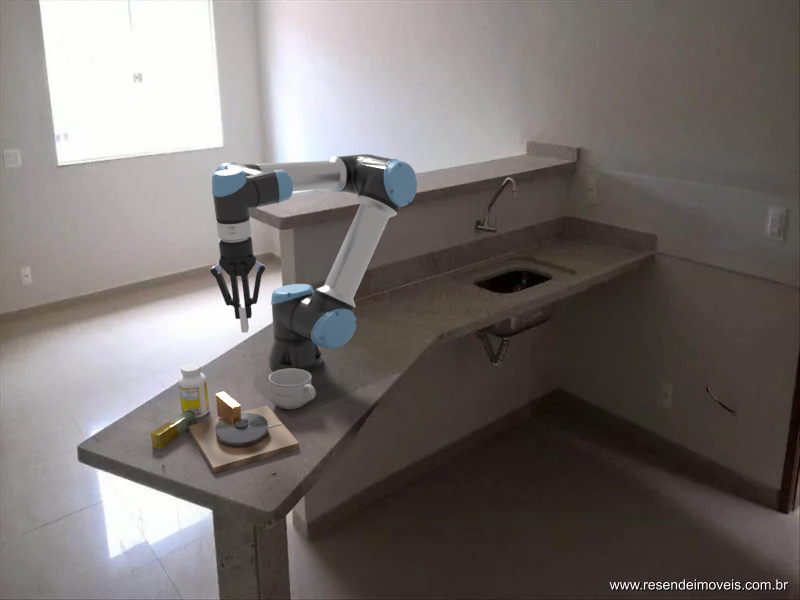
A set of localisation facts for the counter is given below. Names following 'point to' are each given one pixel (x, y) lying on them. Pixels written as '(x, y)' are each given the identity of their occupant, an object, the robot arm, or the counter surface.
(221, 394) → the dial
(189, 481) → the counter surface
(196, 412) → the supplement bottle
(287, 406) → the teacup
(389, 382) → the counter surface
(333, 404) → the counter surface
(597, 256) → the counter surface
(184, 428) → the medication box
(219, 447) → the board
